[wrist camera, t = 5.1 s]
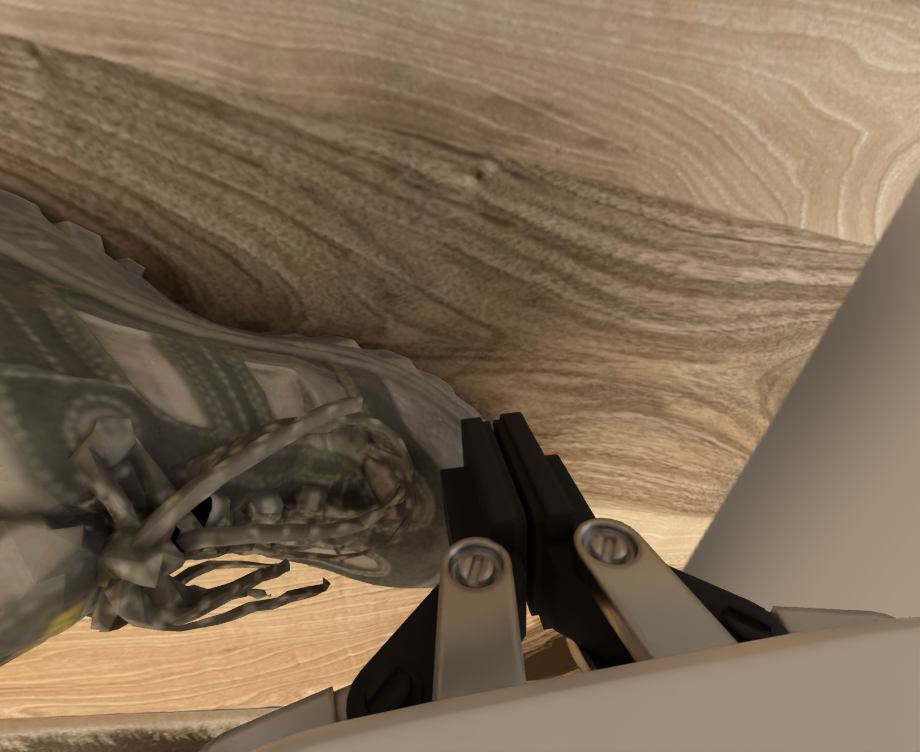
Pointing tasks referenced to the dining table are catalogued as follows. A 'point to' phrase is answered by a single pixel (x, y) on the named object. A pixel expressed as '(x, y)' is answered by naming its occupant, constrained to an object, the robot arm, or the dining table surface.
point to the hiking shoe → (193, 449)
